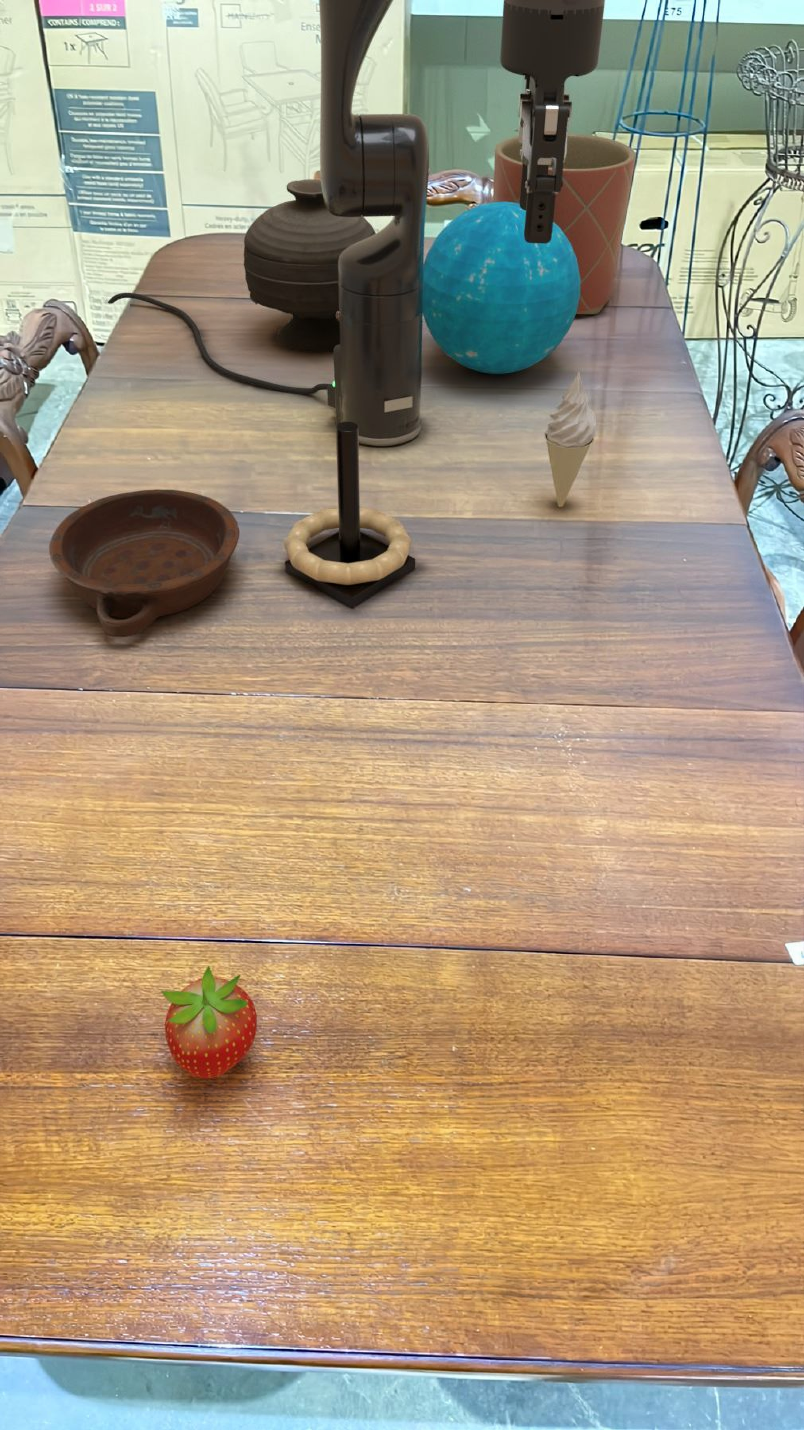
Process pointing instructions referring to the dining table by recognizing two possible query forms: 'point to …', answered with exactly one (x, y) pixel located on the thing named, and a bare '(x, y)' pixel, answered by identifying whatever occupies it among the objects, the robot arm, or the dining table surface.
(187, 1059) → the fruit
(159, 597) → the dish
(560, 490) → the ice cream cone
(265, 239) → the pot
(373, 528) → the ring
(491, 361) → the decorative sphere
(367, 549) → the post
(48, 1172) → the dining table surface
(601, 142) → the planter
